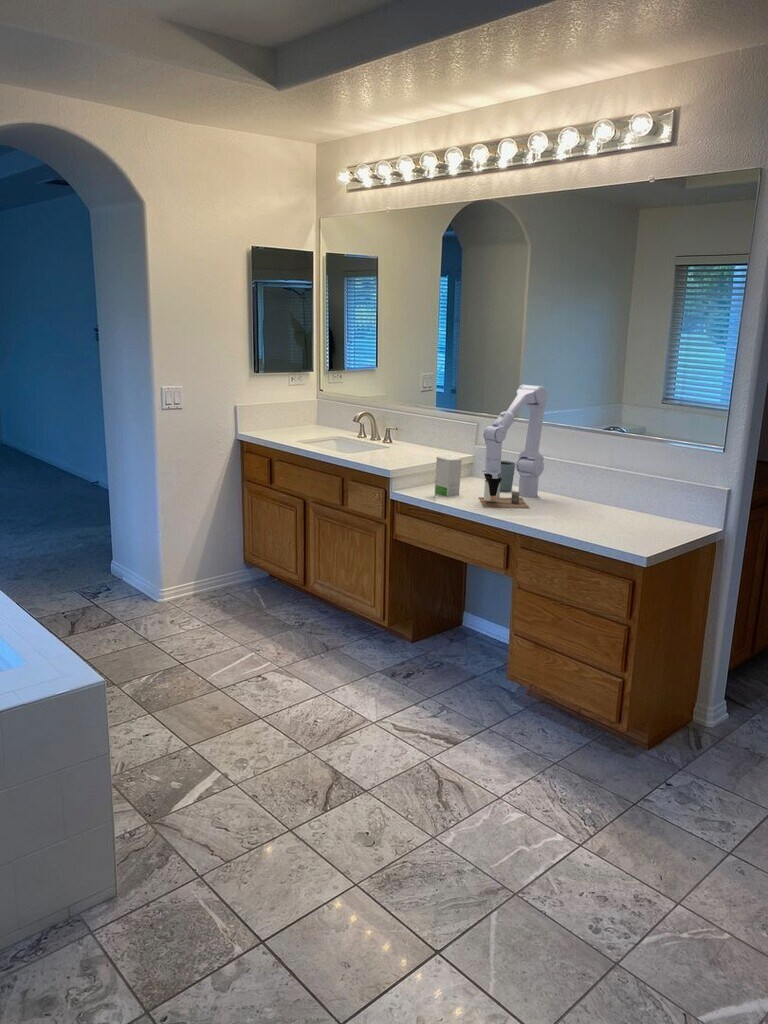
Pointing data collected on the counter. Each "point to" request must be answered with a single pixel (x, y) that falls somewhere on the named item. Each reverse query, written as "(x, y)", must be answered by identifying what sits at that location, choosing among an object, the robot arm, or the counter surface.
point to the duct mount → (505, 502)
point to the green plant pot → (506, 476)
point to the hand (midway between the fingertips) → (491, 493)
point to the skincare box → (447, 475)
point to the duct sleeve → (487, 494)
